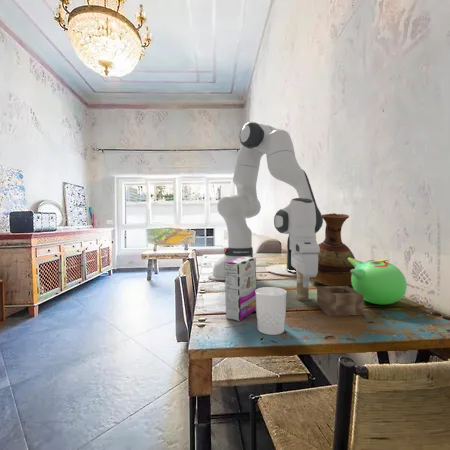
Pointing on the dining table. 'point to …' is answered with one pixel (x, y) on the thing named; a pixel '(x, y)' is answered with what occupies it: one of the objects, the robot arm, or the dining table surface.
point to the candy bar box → (240, 287)
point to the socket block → (339, 300)
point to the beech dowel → (301, 288)
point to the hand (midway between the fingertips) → (302, 284)
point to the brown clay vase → (334, 254)
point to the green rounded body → (378, 281)
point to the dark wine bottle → (289, 255)
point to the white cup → (271, 310)
